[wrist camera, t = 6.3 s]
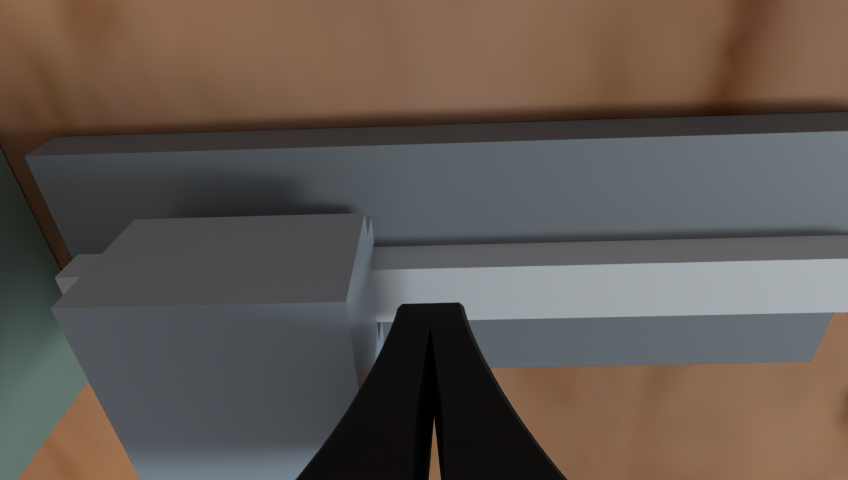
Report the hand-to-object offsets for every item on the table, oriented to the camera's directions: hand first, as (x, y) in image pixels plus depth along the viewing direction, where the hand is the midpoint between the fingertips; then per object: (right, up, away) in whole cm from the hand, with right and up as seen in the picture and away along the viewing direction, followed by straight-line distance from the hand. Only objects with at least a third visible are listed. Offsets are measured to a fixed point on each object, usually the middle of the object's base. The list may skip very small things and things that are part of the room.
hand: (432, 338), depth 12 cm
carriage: (-4, +1, +2) cm, 4 cm away
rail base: (+1, +2, +3) cm, 4 cm away
